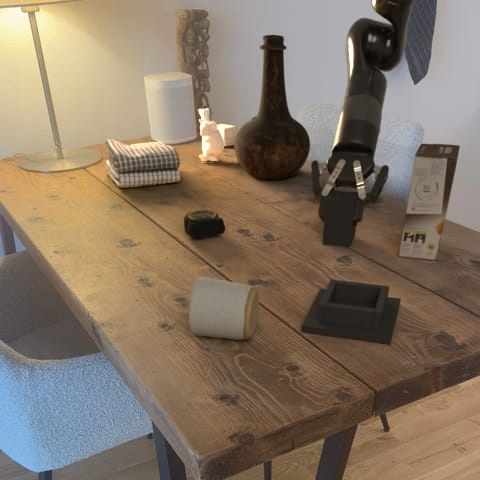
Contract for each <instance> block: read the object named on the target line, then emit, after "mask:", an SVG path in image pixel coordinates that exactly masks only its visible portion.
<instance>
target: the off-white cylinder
mask: <svg viewBox="0 0 480 480" xmlns="http://www.w3.org/2000/svg"><path fill="white" fill-rule="evenodd" d="M189 297H190V298H189V303H188V325H189V329H190V332H191V334H192V335H194V336H200V337H201V336H202V337H208V338H209V337H210V338H218V339H228V340H236V341H242V340H243V341H244V340H245V341H246V340H249V339H251V337H253V335H254V334H255V331H256V328H257V324H258V319H259V313H260V293H259V291H258V290H257V288H256V287H254V286H251V285H248V284H247V283H241V282H233V281H230V280H229V281H228V280H224V279H223V280H222V279H217V278H211V277H206V276H199V277H198V278H197V279H196V280H195V282H194V284H193V286H192V289H191V293H190V296H189Z"/></svg>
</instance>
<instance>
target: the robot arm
mask: <svg viewBox="0 0 480 480" xmlns="http://www.w3.org/2000/svg"><path fill="white" fill-rule="evenodd" d="M370 1H371V2H370V3H371V7H372V9H373V10H374V11H375V13H376V14H377V15H379V16H380V17H381V18H383V19H385V20H386V21H387V22H384V21H379V20H375V19H372V18H369V17H360V18H358V19H357V20H355V22H353V23H352V25H351V26H350V28H349V29H348V32H347V35H346V40H345V61H346V72H347V81H346V88H345V94H344V99H343V103H342V107H341V109H340V112H339V115H338V121H337V125H336V129H335V134H334V139H333V144H332V149H331V153H330V156H329V158H328V159H327V160H326V161H323V162H319V161H318V160H317V159H316V160H312V161H311V165H310V166H311V190H312V195H313V198H314V199H315V200H319V206H318V210H317V212H318V213H317V214H318V218H319V219H320V221H321V223H324V217H325V203H326V198H327V196H328V195H329V193H330V192H331V190H336V191H338V189H339V188H347V187H348V188H351V189H356V192H358V196H359V198H358V200H357V202H356V207H355V212H354V217H353V225H356V226H358V223H362V221H363V219H364V218H363V217H364V213H365V207H366V206H367V205H368V204H376V203H377V202H378V200H379V197H380V196H381V194H382V191H383V189H384V187H385V185H386V182H387V180H388V178H389V173H390V172H389V171H390V170H389V169H390V168H389V165H387V164H383V165H382V166H380V165H377V164H376V163H375V160H374V159H375V155H376V149H377V146H378V140H379V135H380V133H381V126H382V120H383V119H382V117H383V108H384V104H385V98H386V94H387V89H388V79H387V77H386V75H385V74H384V73H389V72H392V71H393V70H396V68H397V67H398V66H399V65H400V63H401V62H402V60H403V58H404V54H405V48H406V42H407V35H408V34H407V33H408V26H409V21H410V16H411V13H412V9H413V7H414V3H415V2H416V0H370ZM388 22H389V23H388ZM326 171H327V172H328V174H329V177H328V179H327V182H326V184H325V185H324V187H323V188H322V187H321V178H322V177H323V176H324V174H325V172H326ZM373 174H374V183H373V185H372V187H371V190H370V191H368V192H366V189H365V188H366V187H365V181H366V180H367V179H368V178H370V176H372V175H373Z"/></svg>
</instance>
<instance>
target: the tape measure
mask: <svg viewBox="0 0 480 480" xmlns="http://www.w3.org/2000/svg"><path fill="white" fill-rule="evenodd" d="M183 228H184V229H183V230H184V232H185V235H187V236H189V237H190V238H193V239H207V238H209V237H212V236H219V235H223V234H224V233H225V232H226V225H225V222H224V219H223V218H222V217H220V216H219V214H218V213H217V212H216V211H213V210H208V209H198V210H193V211H190V212H188V213H186V214H185V215H184V218H183Z"/></svg>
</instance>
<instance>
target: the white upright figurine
mask: <svg viewBox="0 0 480 480" xmlns="http://www.w3.org/2000/svg"><path fill="white" fill-rule="evenodd" d="M197 111H198V114H199V116H200V117H201V118H199V119H198V122H199V123H200V126H199V129H200V130H199V131H200V132H199V135H200V136H201V138H202V139H201V150H202V154H199V155H198V158H199V159H200V160H201V162H202V161H207V160H211V161H218V162H219V156H220V155H221V154H223V152H224V150H225V148H224V140H223V138H222V136H221V134H220V131H219V130H218V129H217V125H218V124H217V122H216V121H214V120H211V112H210V111H211V109H210V108H209V107H206V108H199V109H198V110H197Z"/></svg>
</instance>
